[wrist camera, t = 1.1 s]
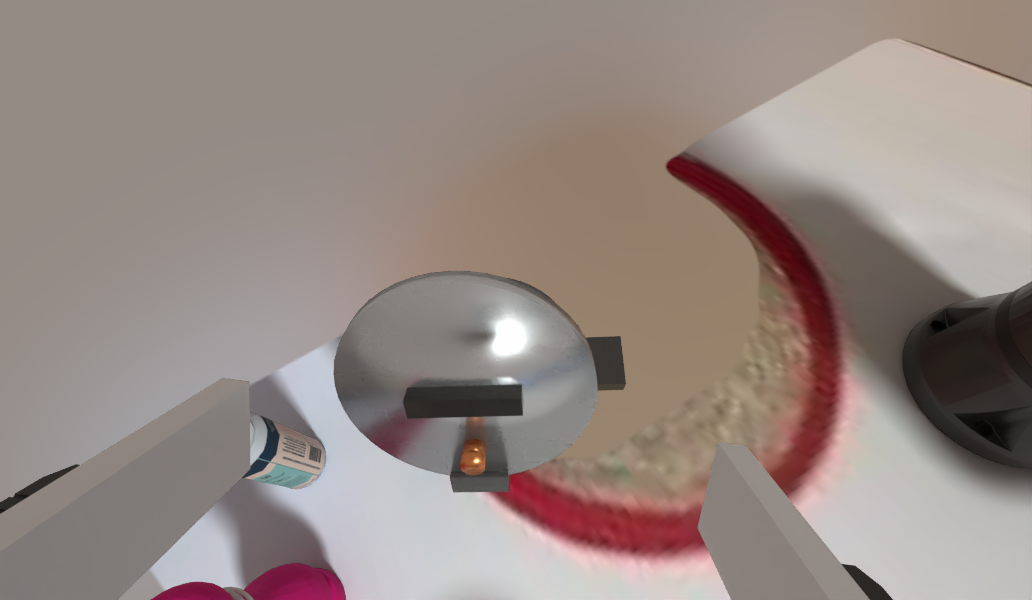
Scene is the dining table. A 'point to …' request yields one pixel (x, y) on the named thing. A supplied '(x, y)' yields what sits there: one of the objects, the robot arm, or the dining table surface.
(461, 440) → the pot lid
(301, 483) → the beer can
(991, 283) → the dining table surface
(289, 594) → the pepper mill
